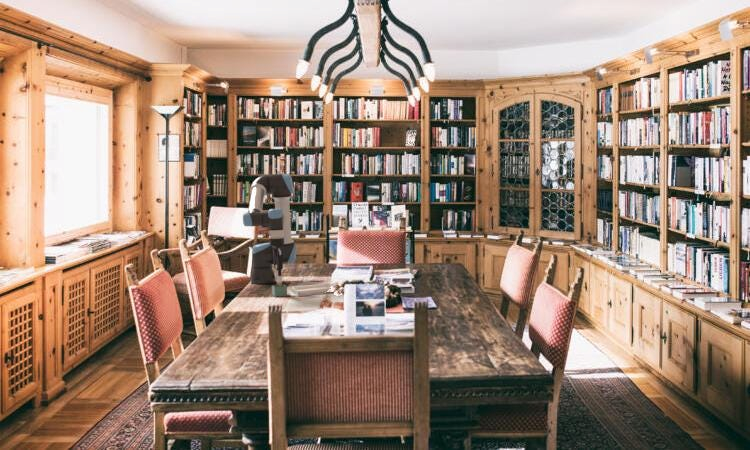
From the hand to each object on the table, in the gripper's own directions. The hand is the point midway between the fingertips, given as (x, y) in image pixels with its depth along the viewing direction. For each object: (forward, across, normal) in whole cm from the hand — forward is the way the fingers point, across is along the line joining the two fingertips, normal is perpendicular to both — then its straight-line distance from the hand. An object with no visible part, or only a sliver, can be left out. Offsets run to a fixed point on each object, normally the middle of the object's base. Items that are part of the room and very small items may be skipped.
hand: (279, 281), depth 368 cm
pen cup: (+7, 0, 0) cm, 7 cm away
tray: (+7, +1, +19) cm, 20 cm away
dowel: (+7, 0, 0) cm, 7 cm away
